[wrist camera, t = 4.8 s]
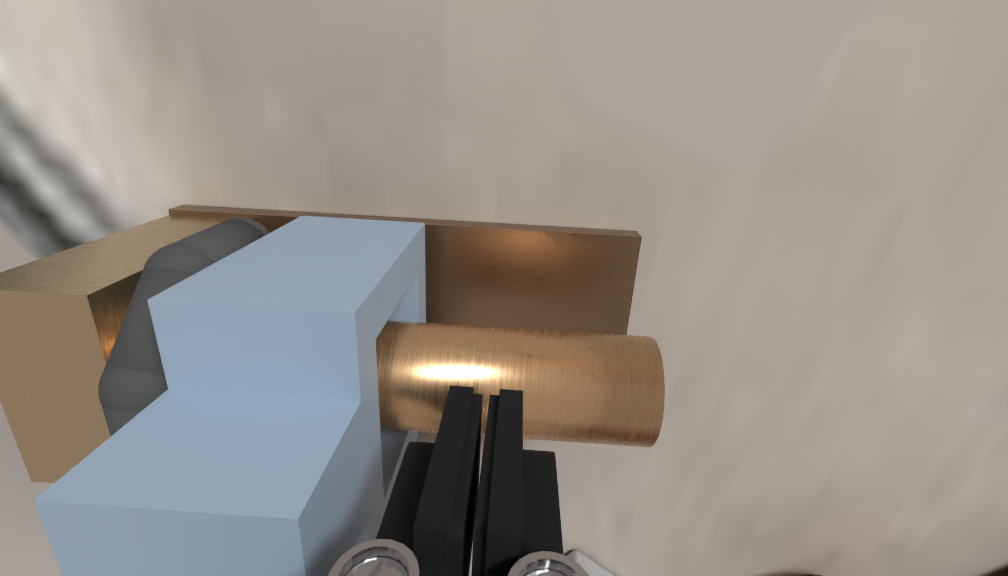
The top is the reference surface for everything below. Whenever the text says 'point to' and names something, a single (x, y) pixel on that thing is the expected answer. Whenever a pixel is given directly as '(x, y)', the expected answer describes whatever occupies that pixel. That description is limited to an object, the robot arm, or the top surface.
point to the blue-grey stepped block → (254, 415)
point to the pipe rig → (399, 346)
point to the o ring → (135, 352)
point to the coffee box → (588, 564)
